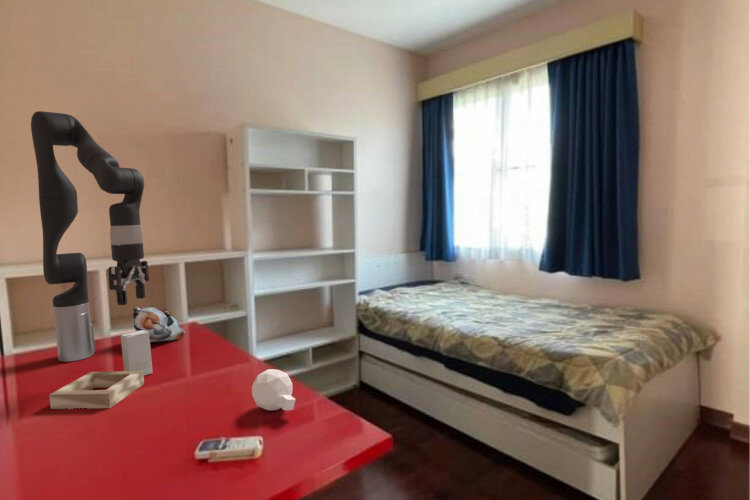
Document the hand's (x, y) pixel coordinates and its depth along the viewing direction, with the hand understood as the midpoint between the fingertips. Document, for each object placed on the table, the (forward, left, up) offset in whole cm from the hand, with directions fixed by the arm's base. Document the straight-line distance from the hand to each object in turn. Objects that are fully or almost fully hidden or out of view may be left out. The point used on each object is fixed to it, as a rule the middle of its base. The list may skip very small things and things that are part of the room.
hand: (132, 301), depth 117 cm
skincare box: (0, 0, -21) cm, 21 cm away
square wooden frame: (+13, -2, -21) cm, 25 cm away
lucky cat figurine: (-33, -11, -21) cm, 41 cm away
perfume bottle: (+23, +44, -21) cm, 54 cm away
